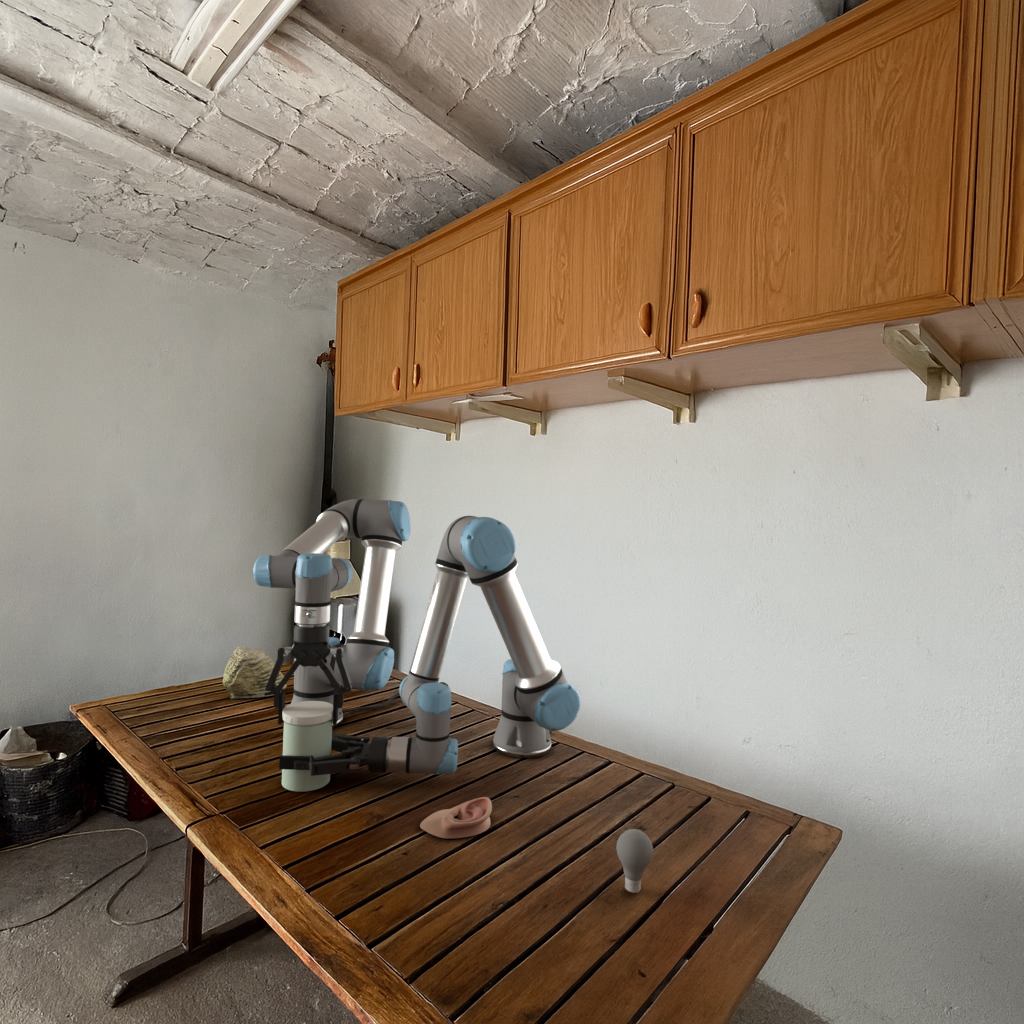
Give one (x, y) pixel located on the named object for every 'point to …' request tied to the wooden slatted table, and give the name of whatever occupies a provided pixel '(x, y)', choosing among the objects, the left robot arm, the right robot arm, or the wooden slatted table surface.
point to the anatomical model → (460, 820)
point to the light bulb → (634, 857)
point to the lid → (307, 712)
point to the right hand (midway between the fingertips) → (288, 751)
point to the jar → (306, 753)
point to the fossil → (249, 673)
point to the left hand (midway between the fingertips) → (308, 722)
